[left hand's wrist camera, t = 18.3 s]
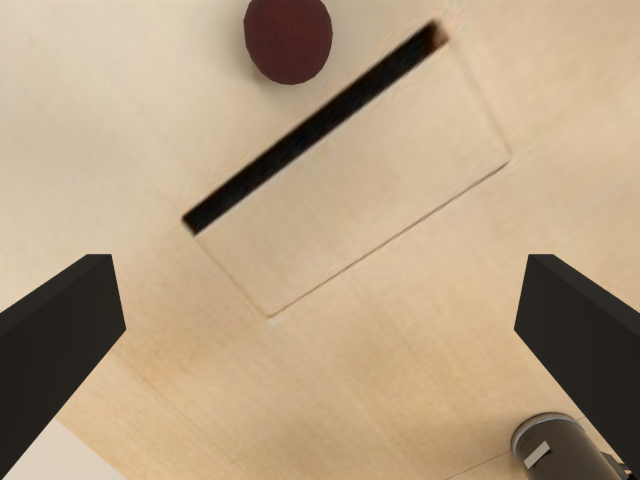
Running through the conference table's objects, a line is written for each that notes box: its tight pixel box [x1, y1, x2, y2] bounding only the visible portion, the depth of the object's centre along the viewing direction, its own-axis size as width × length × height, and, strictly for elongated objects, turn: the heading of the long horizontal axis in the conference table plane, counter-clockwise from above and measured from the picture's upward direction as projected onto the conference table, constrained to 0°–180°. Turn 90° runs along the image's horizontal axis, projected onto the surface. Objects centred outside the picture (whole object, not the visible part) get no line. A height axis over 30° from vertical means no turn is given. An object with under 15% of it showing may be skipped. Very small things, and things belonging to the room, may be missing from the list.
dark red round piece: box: [244, 0, 333, 85], centre depth 33 cm, size 7×8×7 cm
